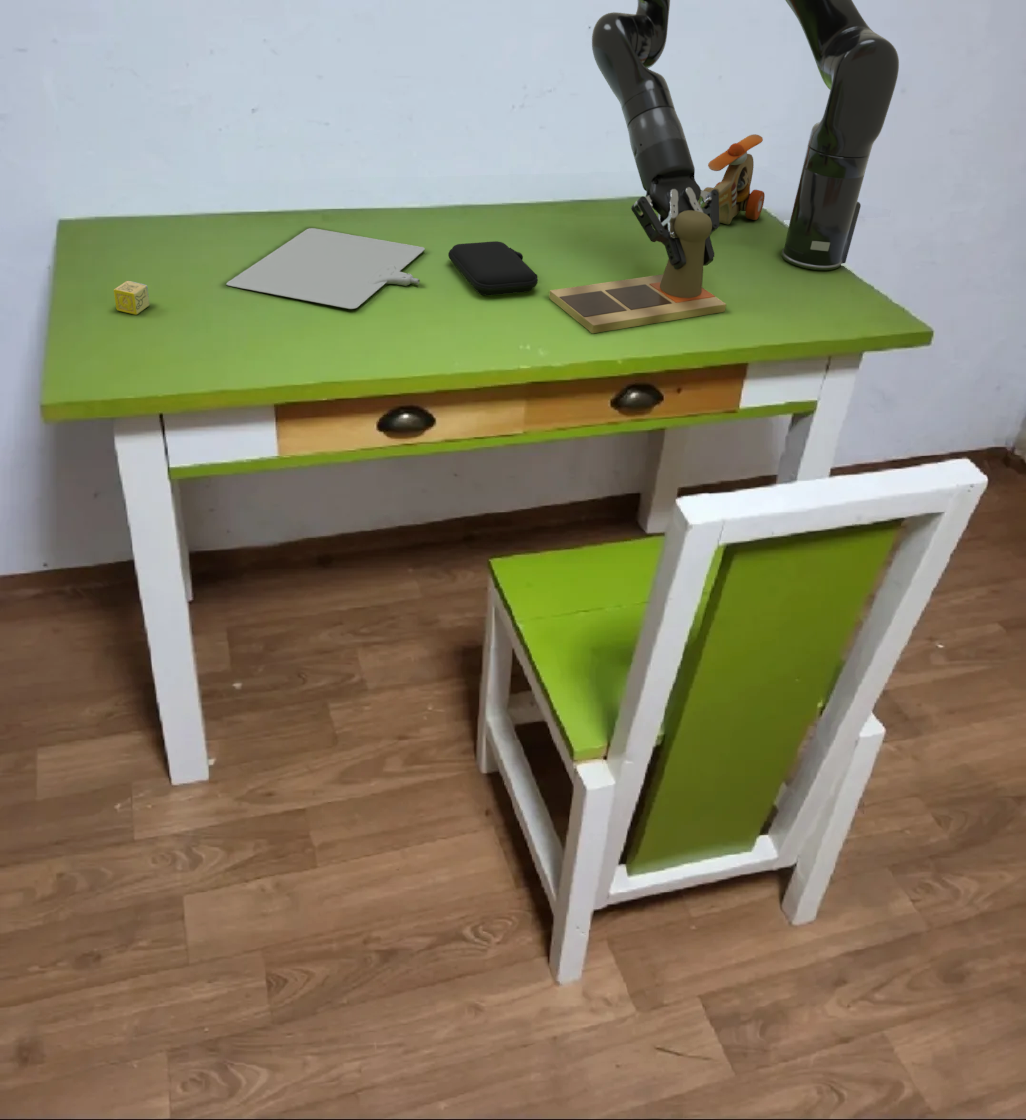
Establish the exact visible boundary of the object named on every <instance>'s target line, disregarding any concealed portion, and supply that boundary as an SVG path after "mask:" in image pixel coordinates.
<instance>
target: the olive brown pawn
mask: <svg viewBox="0 0 1026 1120" xmlns="http://www.w3.org/2000/svg"><path fill="white" fill-rule="evenodd" d="M674 228H675V232H676V234H677V237H676V238H677V239H678V238H679V239H680V242H681V245H682V248H683V252H684V255H685V259H686V265H684V266H683V267H682V268H681V269H674V267H673V266H672V265H671V264H670V261H669V258H668V259H667V262H666V264H665V269H664V271H663V273H662V274H663V277H662V280H661V283H660V288H661V290H662V291H664V292H665V293H667V294H669V295H672V296H676V297H682V298H693V297H697V296H699V295H700V294H701V292H702V288H703V279H704V278H703V277H704V266H703V265H704V251H705V240H706V239H707V238H708V236H709V235H710V236H711V234H712V233H711V230H712V222H711V219H710V217H709V216H708V215H707V214H705V213H702V212H699V211H693V210H687V211H683V212H681V213H680V214H679V215H678V216H677V217H676V220H675V224H674ZM710 233H711V234H710Z"/></svg>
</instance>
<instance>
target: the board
mask: <svg viewBox="0 0 1026 1120" xmlns="http://www.w3.org/2000/svg"><path fill="white" fill-rule="evenodd" d="M663 274H664V273H662V274H656V275H648V276H642V277H635V278H627V279H621V280H612V281H605V282H600V283H592V284H586V285H585V284H584V285H578V286H572V287H564V288H556V289H550V290H549V296H548V299H549V300H550V301H552V302H553V303H554V304H555V305H556V306H558V307H559V308H560V309H562V310H563V311H564V312H565V313H566V314H568V315H569V316H570V317H571V318H573V319H574V320H575V321H576V322H577V323H579V324H580V325H581V326H582V327H584V328H585V329H586V330H587V331H589V332H590V333H591V334H598V333H603V332H609V331H615V330H621V329H622V330H623V329H627V328H634V327H640V326H646V325H652V324H658V323H664V322H665V323H666V322H671V321H677V320H682V319H689V318H695V317H702V316H707V315H714V314H719V313H725V312H726V307H727V303H726V302H724V301H722V300H721V299H719V298H718V297H717V296H716V295H714V294H713V293H712V292H710V291H708V290H707V289H705V288H704V287H702V292H701V294H700V295H699V296H697V297H693V298H682V297H676V296H672V295H669V294H667V293H665V292H664V291H662V290H661V288H660V283H661V280H662V277H663Z"/></svg>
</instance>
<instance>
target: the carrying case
mask: <svg viewBox="0 0 1026 1120" xmlns="http://www.w3.org/2000/svg"><path fill="white" fill-rule="evenodd" d="M447 257H448V258H449V260H450V262H451V263H452V264H453V265H454V267H455V269H457V270H458V271H459V273H460V274H461V275H462V276H463V277H464V278H465V280H466V281H467V283H469V284H470V285H471V287H472V288H473V289H474V290H475V291H476V292H477V293H478V295H481V296H485V297H486V296H488V297H489V296H499V295H511V294H521V293H528V292H531V291H533V289H534V288H536V287H537V285H538V284H539V283H538V282H539V279H538V274H536V273H535V272H534V271H533V270H532V268H530V267H529V265H528V264H527V263H525V261H524V260H523V259H524V256H523V254H522V253H521V252H519V251H516V250H515V249H514V248H512V247H509V246H508V245H507V244H506V243H504V242H502V241H499V240H498V241H496V240H495V241H482V242H467V243H457V244H454V245H453V246H452V248H450V250H448V253H447Z"/></svg>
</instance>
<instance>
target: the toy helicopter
mask: <svg viewBox="0 0 1026 1120" xmlns="http://www.w3.org/2000/svg"><path fill="white" fill-rule="evenodd" d="M763 140H764V138H763V137H762V136H761V135H760V134H749V135H747V136H745V137H744V138H742V139H741V140H739V141H738V142H734V143H732V144H731V145H730V146H728V148H727V149H726V150H725V151H724V152H722V153H720V154H719V155H717V156H716V157H715V158H712V160H710V161H709V162H708V163H707V167H708V169H710V170H711V171H712V172H713V171H714V172H720V171H722V170H724V169H725V168H726V170H725V172H724V175H723V177H722V179H721V181H719V182H717V183H716V184H715V185H714V187H709V186H707V187H705V188H704V189H702V190H703V191H707V192H711V191H712V190H714V189H715V190H717V191H718V193H719V224H724V225H730V224H731V223H732V220H733V219H734V217H736V216H738V215H739V213H740V212H744V215H745V218H746V219H748V220H753V221H756V220H758V219H759V217H760V215H761V213H762V210H763V207H764V203H765V197H766V196H765V191H763V190H759V189H753V190H752V191H751V184H752V180H753V174H754V167H755V166H754V157H753V155H752V154H751V153H748V151H749V150H751V149H753V148H755V147H756V146H758V145H761V144H762V143H763ZM698 203H699V205H701V203H700V201H698Z"/></svg>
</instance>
